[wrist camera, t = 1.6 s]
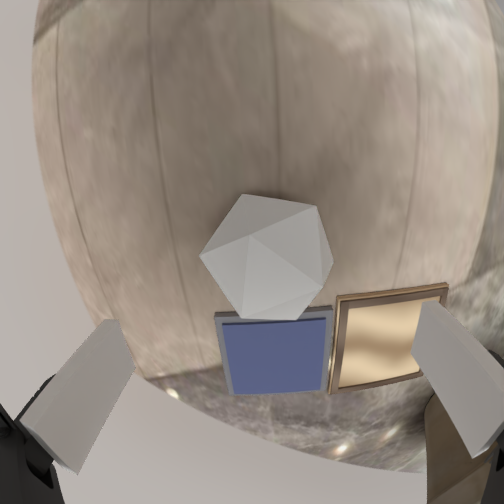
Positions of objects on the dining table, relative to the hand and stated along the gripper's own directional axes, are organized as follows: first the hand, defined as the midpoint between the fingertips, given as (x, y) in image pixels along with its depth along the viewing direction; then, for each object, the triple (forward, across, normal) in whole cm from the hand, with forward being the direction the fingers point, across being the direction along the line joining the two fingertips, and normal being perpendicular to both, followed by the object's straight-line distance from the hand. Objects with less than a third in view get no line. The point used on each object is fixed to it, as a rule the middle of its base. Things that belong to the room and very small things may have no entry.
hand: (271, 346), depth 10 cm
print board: (+14, +13, -12) cm, 22 cm away
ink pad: (+14, 0, -12) cm, 18 cm away
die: (+14, 0, 0) cm, 14 cm away
